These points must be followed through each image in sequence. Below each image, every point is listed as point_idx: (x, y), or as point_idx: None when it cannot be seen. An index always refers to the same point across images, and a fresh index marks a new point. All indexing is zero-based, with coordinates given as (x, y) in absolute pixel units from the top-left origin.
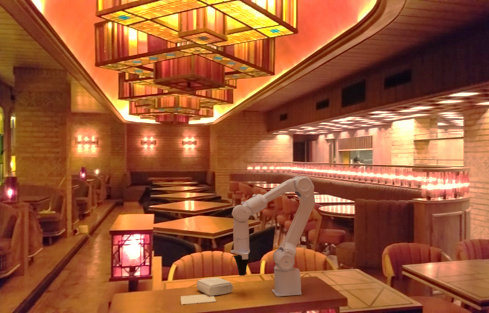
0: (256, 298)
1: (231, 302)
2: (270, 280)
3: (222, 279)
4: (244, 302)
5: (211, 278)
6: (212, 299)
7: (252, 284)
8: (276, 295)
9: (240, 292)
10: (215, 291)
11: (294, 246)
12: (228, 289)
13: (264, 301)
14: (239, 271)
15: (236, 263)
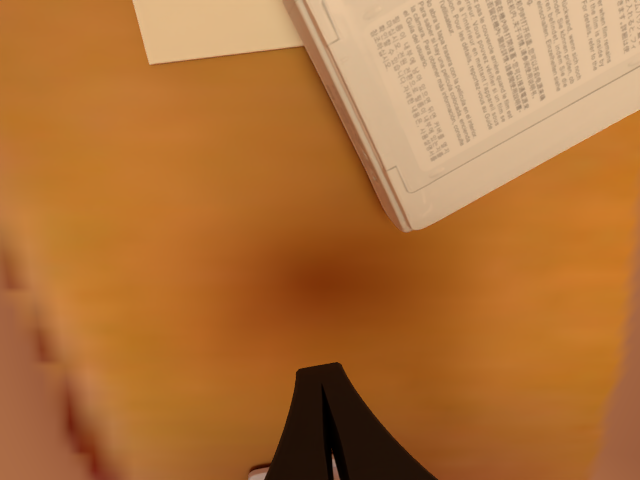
0: (232, 366)
1: (141, 201)
2: (591, 436)
3: (546, 140)
4: (142, 294)
5: (615, 1)
6: (200, 29)
7: (550, 343)
8: (256, 472)
9: (388, 267)
10: (313, 58)
11: None
12: (375, 187)
13: (165, 408)
14: (293, 409)
15: (394, 461)
